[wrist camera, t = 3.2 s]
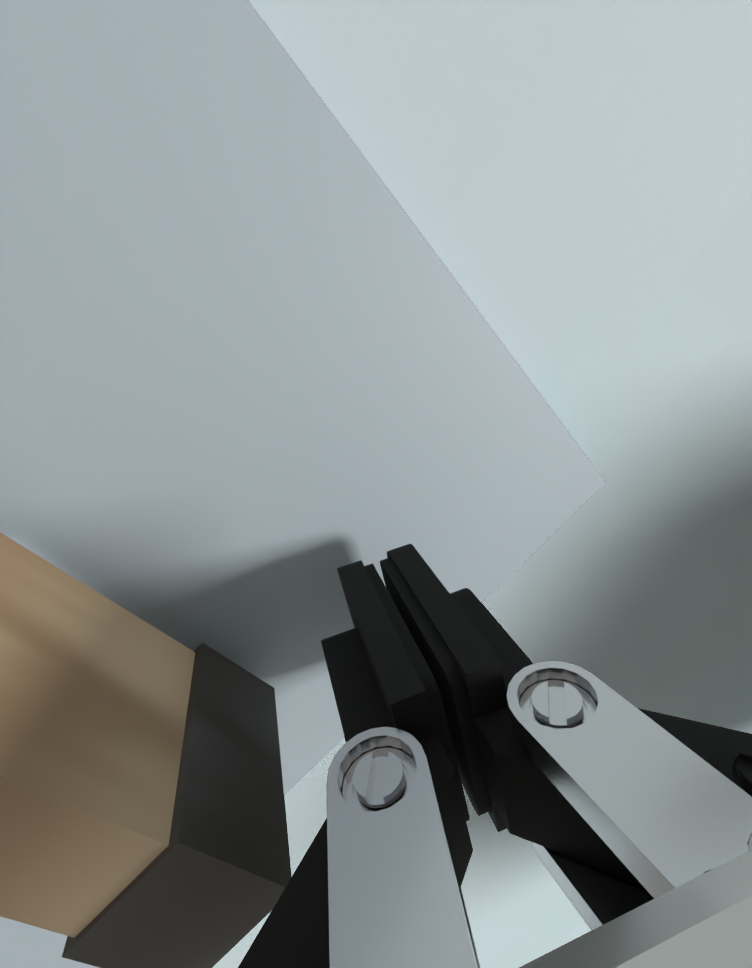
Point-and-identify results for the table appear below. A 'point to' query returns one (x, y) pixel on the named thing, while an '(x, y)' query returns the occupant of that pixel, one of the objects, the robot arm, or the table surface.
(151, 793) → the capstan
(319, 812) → the table surface
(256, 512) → the board
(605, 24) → the table surface
